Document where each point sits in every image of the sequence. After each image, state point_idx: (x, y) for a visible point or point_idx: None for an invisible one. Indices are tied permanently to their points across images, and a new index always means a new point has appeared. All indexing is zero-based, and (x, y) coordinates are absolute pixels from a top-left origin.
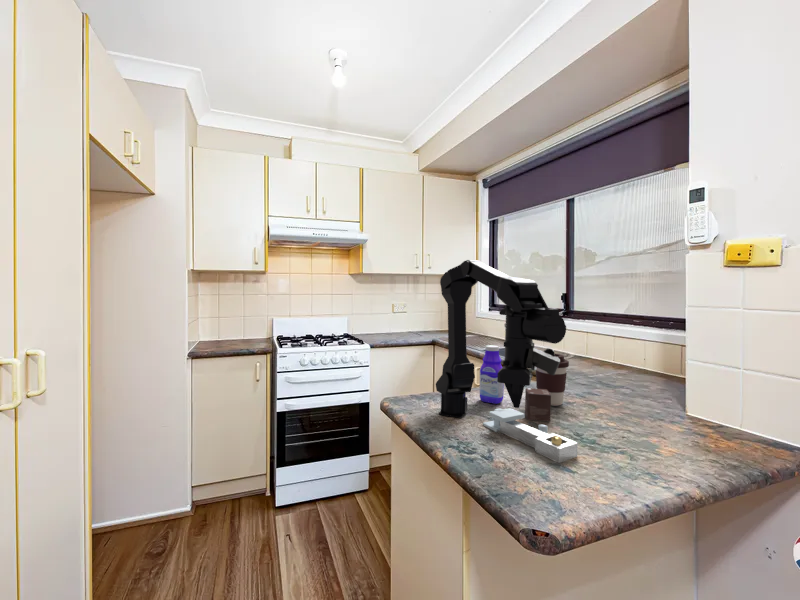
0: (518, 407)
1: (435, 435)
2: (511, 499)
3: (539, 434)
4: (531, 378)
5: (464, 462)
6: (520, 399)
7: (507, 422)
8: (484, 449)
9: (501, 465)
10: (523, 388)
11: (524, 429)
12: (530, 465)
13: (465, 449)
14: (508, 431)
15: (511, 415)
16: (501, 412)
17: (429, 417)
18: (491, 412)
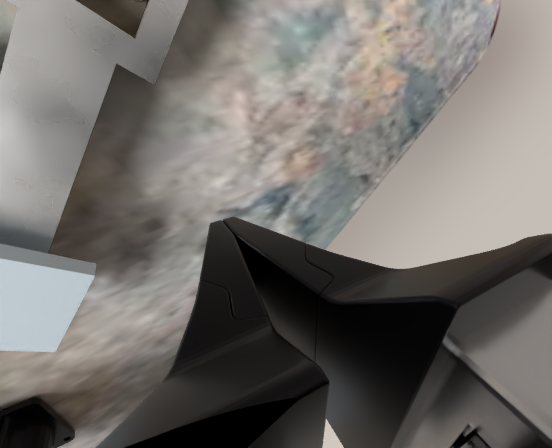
0: (233, 219)
1: None
2: (424, 92)
3: (77, 72)
4: (466, 304)
5: (320, 227)
6: (275, 234)
7: None
8: None
9: (304, 156)
10: (327, 273)
11: (68, 163)
12: (271, 79)
13: None
14: (56, 229)
15: (1, 270)
16: (1, 322)
17: (117, 423)
18: (57, 342)
